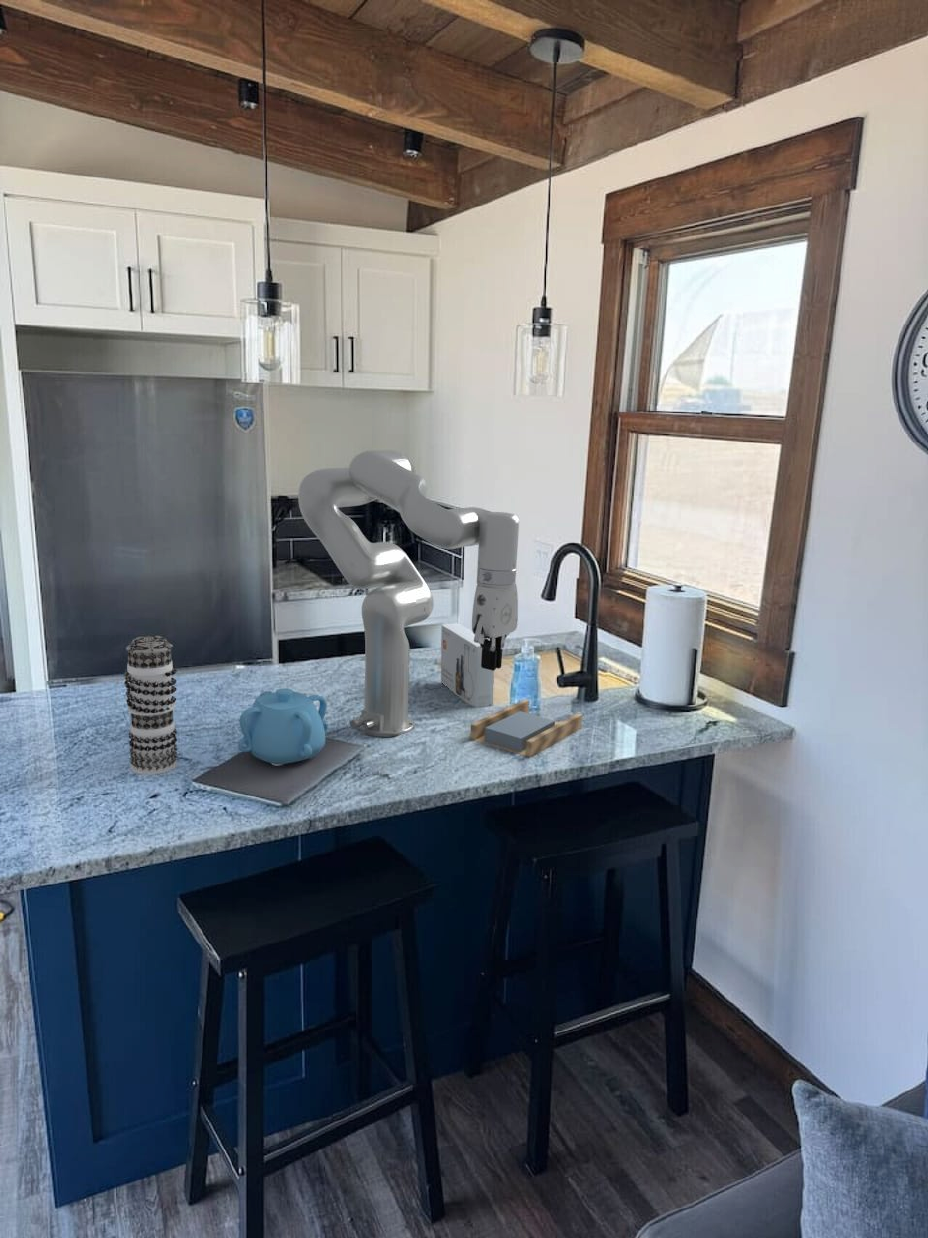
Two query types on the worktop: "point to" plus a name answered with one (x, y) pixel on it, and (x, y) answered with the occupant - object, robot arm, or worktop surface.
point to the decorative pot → (283, 727)
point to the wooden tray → (533, 744)
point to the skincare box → (465, 666)
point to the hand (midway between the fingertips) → (491, 667)
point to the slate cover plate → (517, 730)
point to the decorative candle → (151, 705)
